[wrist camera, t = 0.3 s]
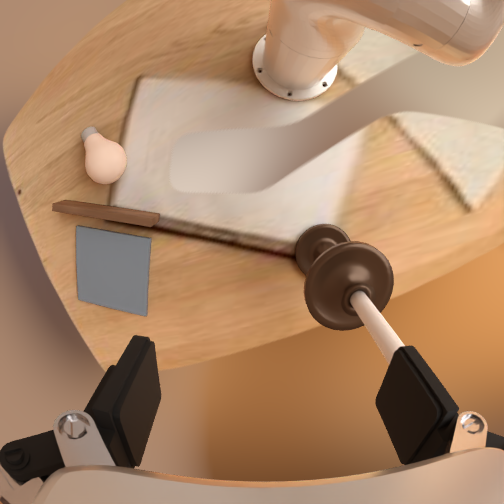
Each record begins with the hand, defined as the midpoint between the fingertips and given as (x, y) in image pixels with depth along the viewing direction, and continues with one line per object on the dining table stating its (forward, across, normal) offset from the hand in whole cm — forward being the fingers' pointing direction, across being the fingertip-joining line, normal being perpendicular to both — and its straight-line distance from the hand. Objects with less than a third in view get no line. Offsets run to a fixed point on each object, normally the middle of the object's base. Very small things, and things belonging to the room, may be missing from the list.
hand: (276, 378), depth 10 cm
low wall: (+36, +24, +1) cm, 43 cm away
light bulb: (+36, +24, -9) cm, 44 cm away
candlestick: (+36, -11, +5) cm, 38 cm away
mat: (+36, +24, +11) cm, 44 cm away
